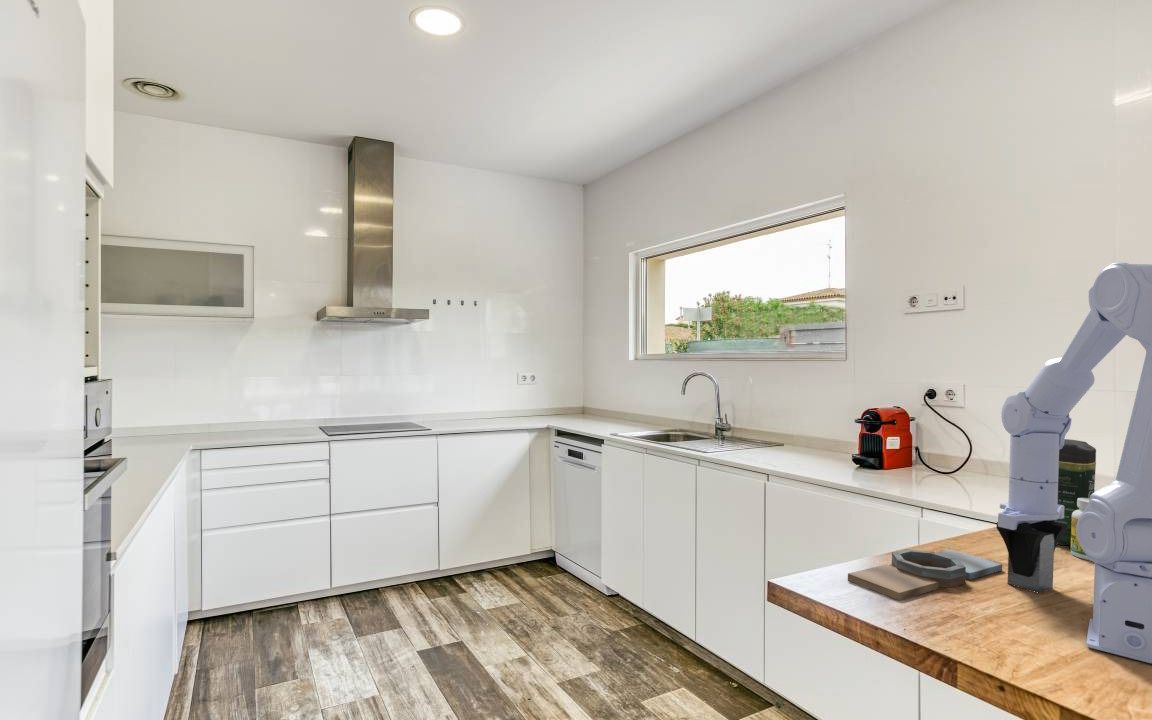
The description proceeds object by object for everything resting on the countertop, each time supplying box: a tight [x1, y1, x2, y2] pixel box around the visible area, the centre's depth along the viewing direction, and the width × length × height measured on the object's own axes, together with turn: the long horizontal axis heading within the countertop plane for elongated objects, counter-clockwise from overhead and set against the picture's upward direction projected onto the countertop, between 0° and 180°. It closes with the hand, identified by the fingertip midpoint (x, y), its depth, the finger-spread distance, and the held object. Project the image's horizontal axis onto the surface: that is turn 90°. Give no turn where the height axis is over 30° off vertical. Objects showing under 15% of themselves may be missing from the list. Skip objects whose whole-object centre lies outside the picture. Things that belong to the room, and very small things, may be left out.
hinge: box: [847, 548, 1003, 601], centre depth 93 cm, size 26×9×2 cm, turn 119°
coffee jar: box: [1054, 438, 1097, 546], centre depth 112 cm, size 10×8×19 cm
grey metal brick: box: [1007, 529, 1055, 594], centre depth 89 cm, size 4×4×8 cm
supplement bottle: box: [1070, 498, 1090, 561], centre depth 103 cm, size 5×5×10 cm
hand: (1030, 572), depth 89 cm, fingers closed on grey metal brick, 4 cm apart
